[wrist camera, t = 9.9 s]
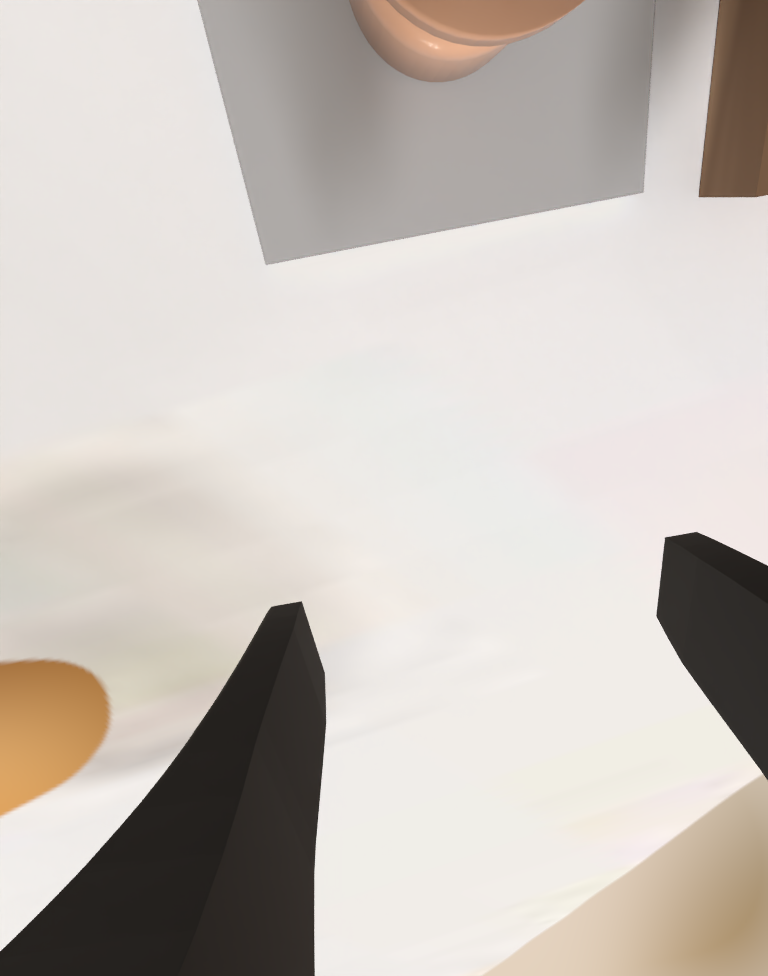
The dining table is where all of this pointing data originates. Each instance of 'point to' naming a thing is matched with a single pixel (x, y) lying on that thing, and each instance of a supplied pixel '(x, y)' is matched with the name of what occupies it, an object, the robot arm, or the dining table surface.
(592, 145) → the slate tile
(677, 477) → the dining table surface
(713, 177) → the cold frame
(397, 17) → the terracotta pot
